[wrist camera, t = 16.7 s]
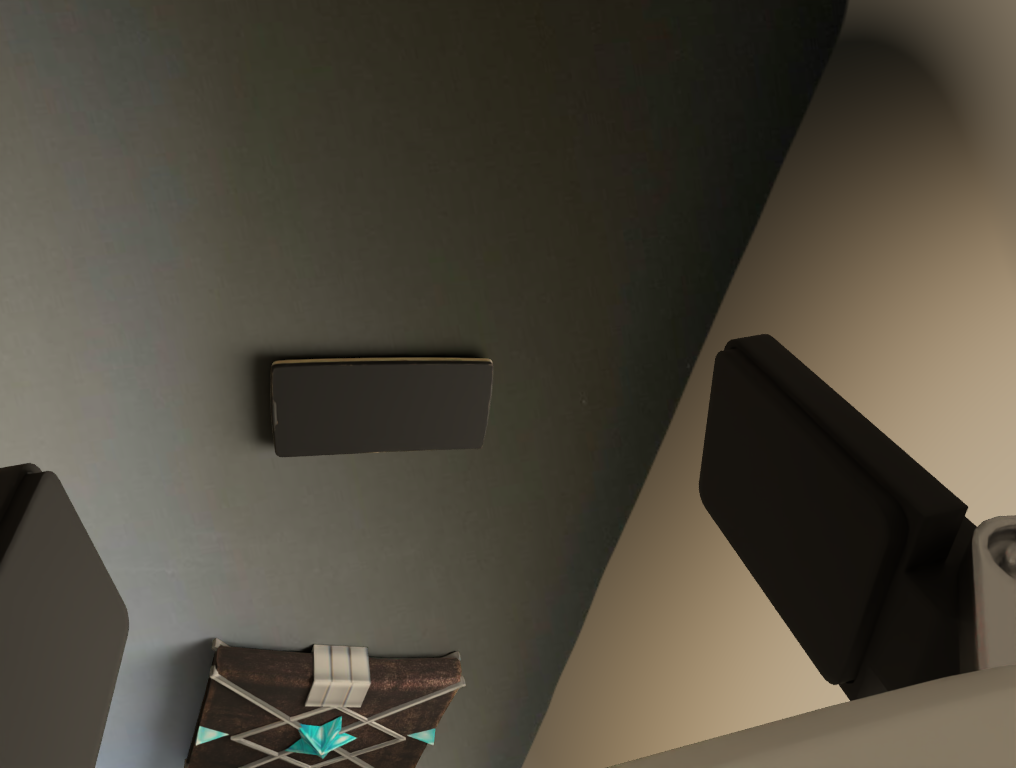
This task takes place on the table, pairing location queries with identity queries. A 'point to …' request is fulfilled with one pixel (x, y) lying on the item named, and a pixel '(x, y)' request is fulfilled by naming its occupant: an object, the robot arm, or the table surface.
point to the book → (320, 708)
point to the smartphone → (379, 405)
